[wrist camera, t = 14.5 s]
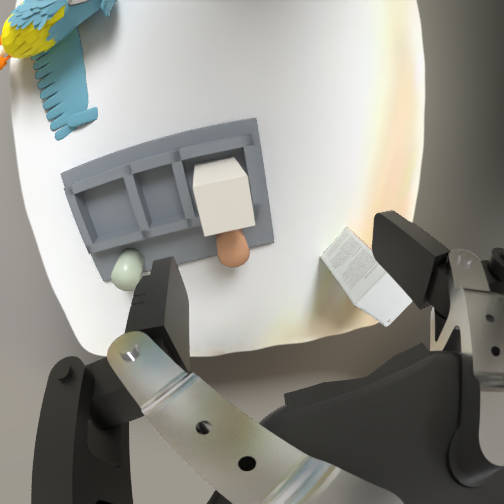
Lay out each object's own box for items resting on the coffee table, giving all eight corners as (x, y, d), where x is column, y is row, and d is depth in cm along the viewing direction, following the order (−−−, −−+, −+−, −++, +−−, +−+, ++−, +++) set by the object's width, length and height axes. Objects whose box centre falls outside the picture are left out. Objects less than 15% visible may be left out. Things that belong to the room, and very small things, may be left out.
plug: (194, 164, 27) (192, 187, 19) (233, 155, 27) (247, 175, 19) (202, 199, 29) (204, 236, 21) (239, 191, 29) (255, 225, 21)
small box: (376, 254, 38) (418, 296, 29) (351, 281, 39) (387, 328, 30) (346, 224, 34) (391, 267, 25) (318, 256, 36) (354, 306, 27)
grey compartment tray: (62, 172, 24) (43, 183, 20) (255, 117, 26) (265, 119, 22) (104, 278, 32) (95, 301, 28) (273, 240, 33) (283, 259, 29)
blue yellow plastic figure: (-23, -23, 1) (94, -99, 2) (9, -10, 9) (109, -68, 9) (-4, 174, 15) (133, 90, 16) (38, 155, 23) (151, 97, 24)
